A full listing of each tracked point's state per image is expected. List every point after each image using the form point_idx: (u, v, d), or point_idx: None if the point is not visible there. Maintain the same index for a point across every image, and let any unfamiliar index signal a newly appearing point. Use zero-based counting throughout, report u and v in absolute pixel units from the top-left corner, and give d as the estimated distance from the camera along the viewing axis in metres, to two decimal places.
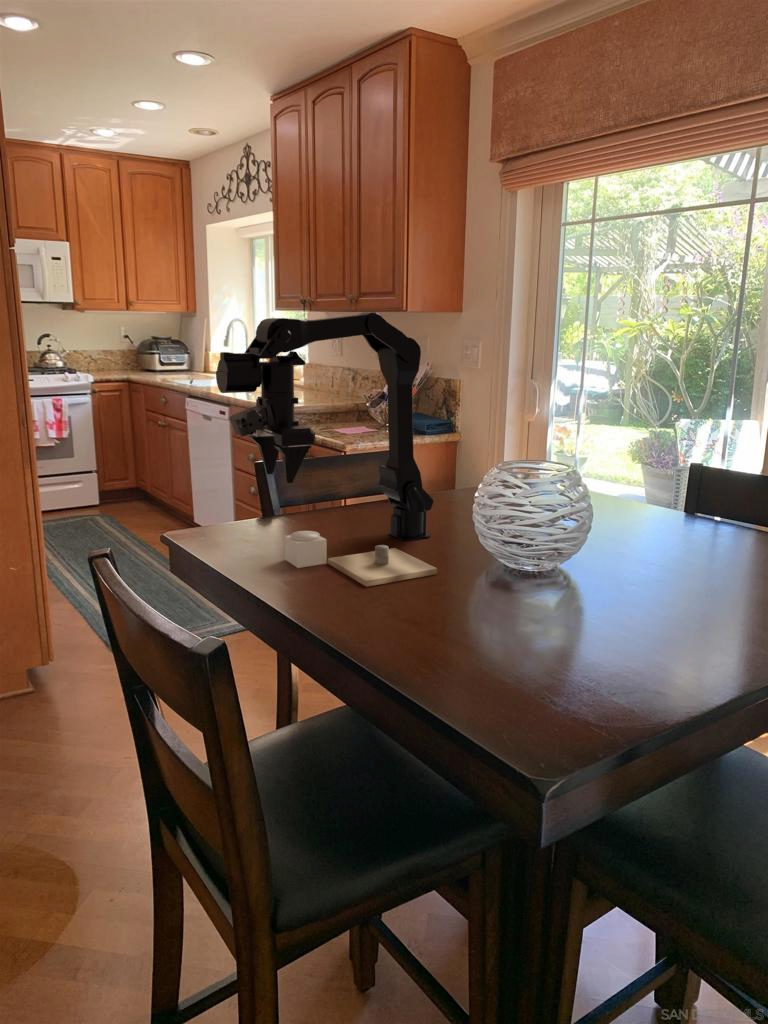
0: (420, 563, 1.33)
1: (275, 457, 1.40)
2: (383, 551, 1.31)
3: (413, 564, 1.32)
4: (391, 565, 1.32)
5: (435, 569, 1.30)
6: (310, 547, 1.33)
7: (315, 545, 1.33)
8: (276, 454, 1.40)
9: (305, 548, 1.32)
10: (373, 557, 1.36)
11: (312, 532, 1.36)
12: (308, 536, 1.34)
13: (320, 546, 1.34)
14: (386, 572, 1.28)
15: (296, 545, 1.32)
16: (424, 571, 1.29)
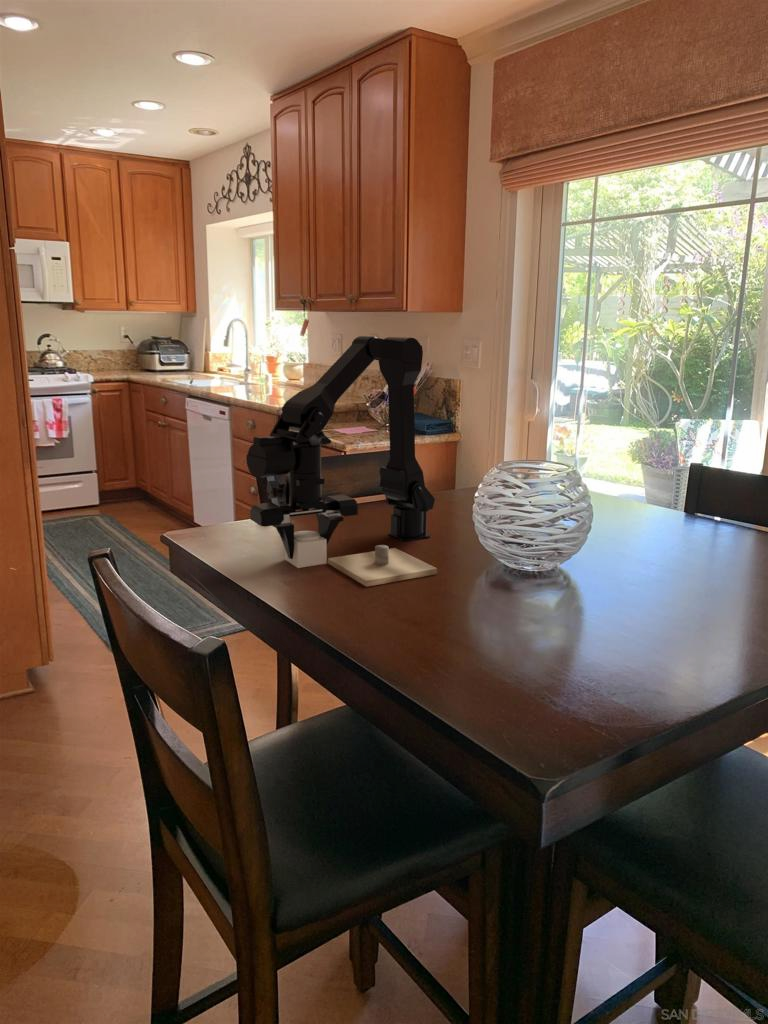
0: (420, 563, 1.33)
1: None
2: (383, 551, 1.31)
3: (413, 564, 1.32)
4: (391, 565, 1.32)
5: (435, 569, 1.30)
6: (310, 547, 1.33)
7: (315, 545, 1.33)
8: (324, 536, 1.35)
9: (305, 548, 1.32)
10: (373, 557, 1.36)
11: (312, 532, 1.36)
12: (308, 536, 1.34)
13: (320, 546, 1.34)
14: (386, 572, 1.28)
15: (296, 545, 1.32)
16: (424, 571, 1.29)
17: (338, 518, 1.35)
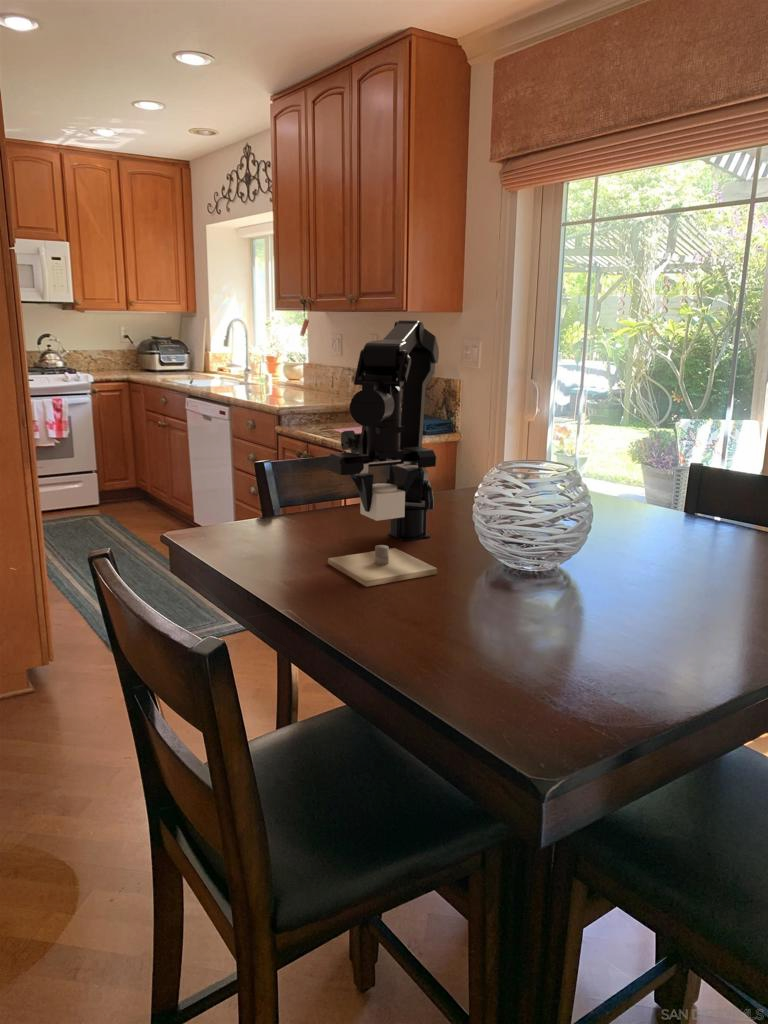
0: (420, 563, 1.33)
1: None
2: (383, 551, 1.31)
3: (413, 564, 1.32)
4: (391, 565, 1.32)
5: (435, 569, 1.30)
6: (389, 499, 1.27)
7: (394, 497, 1.28)
8: (402, 488, 1.30)
9: (384, 500, 1.27)
10: (373, 557, 1.36)
11: (389, 484, 1.30)
12: (386, 488, 1.28)
13: (398, 498, 1.28)
14: (386, 572, 1.28)
15: (375, 496, 1.26)
16: (424, 571, 1.29)
17: (416, 469, 1.29)
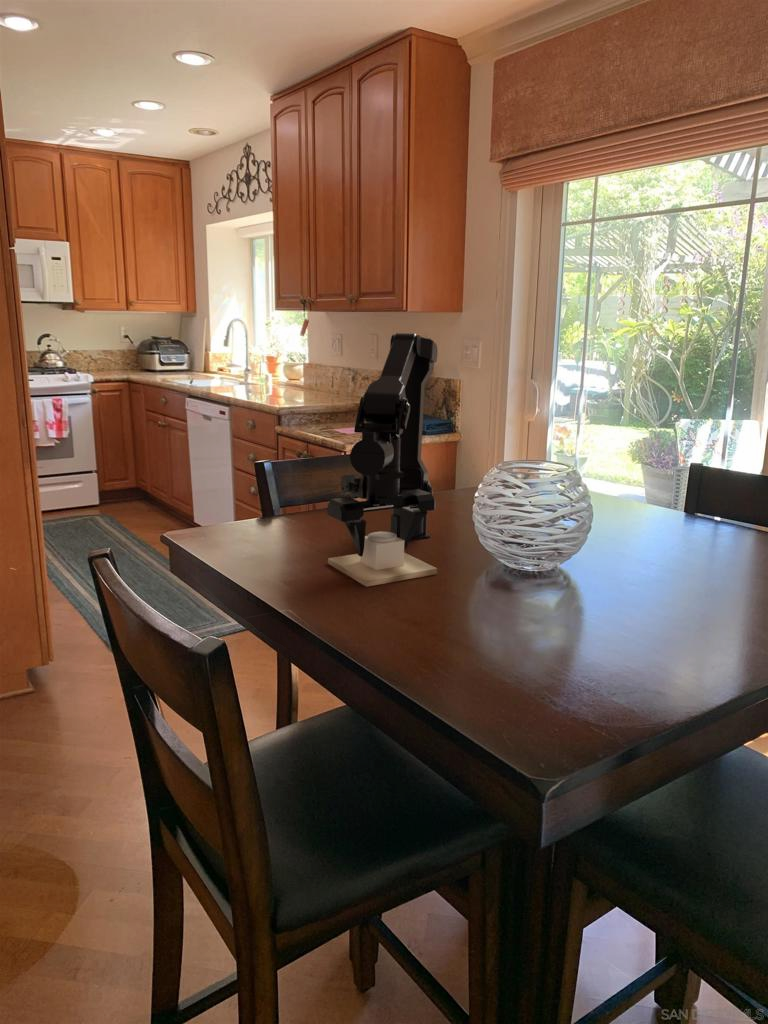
0: (420, 563, 1.33)
1: (407, 534, 1.32)
2: None
3: (413, 564, 1.32)
4: None
5: (435, 569, 1.30)
6: (388, 548, 1.29)
7: (393, 546, 1.30)
8: (408, 531, 1.32)
9: (383, 549, 1.29)
10: None
11: (388, 533, 1.33)
12: (386, 537, 1.30)
13: (398, 547, 1.30)
14: (386, 572, 1.28)
15: (374, 546, 1.28)
16: (424, 571, 1.29)
17: (422, 512, 1.32)
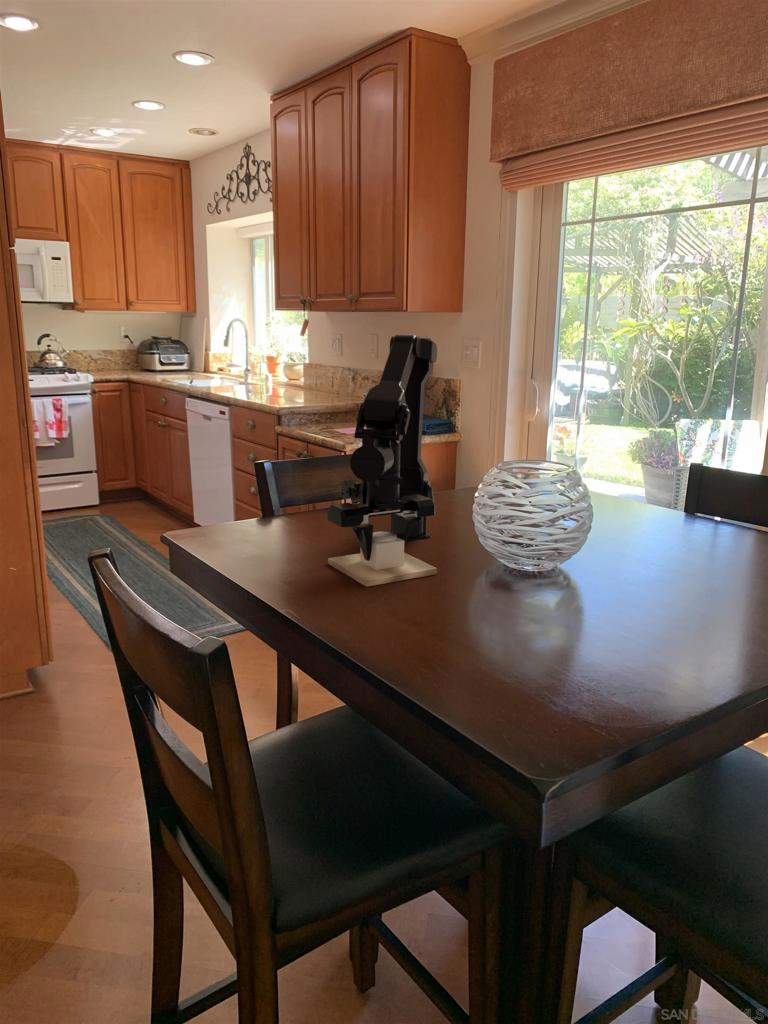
0: (420, 563, 1.33)
1: None
2: None
3: (413, 564, 1.32)
4: None
5: (435, 569, 1.30)
6: (388, 548, 1.29)
7: (393, 546, 1.30)
8: (401, 537, 1.32)
9: (383, 549, 1.29)
10: None
11: (388, 533, 1.33)
12: (386, 537, 1.30)
13: (398, 547, 1.30)
14: (386, 572, 1.28)
15: (374, 546, 1.28)
16: (424, 571, 1.29)
17: (416, 519, 1.31)
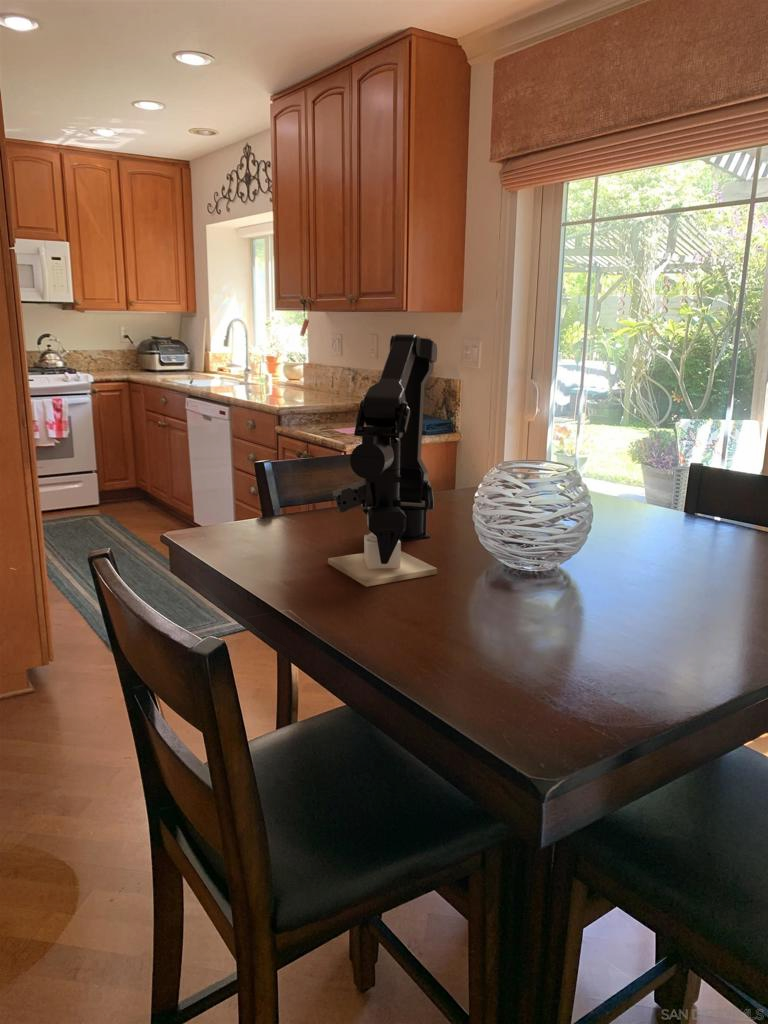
0: (420, 563, 1.33)
1: None
2: None
3: (413, 564, 1.32)
4: None
5: (435, 569, 1.30)
6: None
7: None
8: None
9: None
10: None
11: None
12: None
13: None
14: (386, 572, 1.28)
15: (397, 545, 1.29)
16: (424, 571, 1.29)
17: None
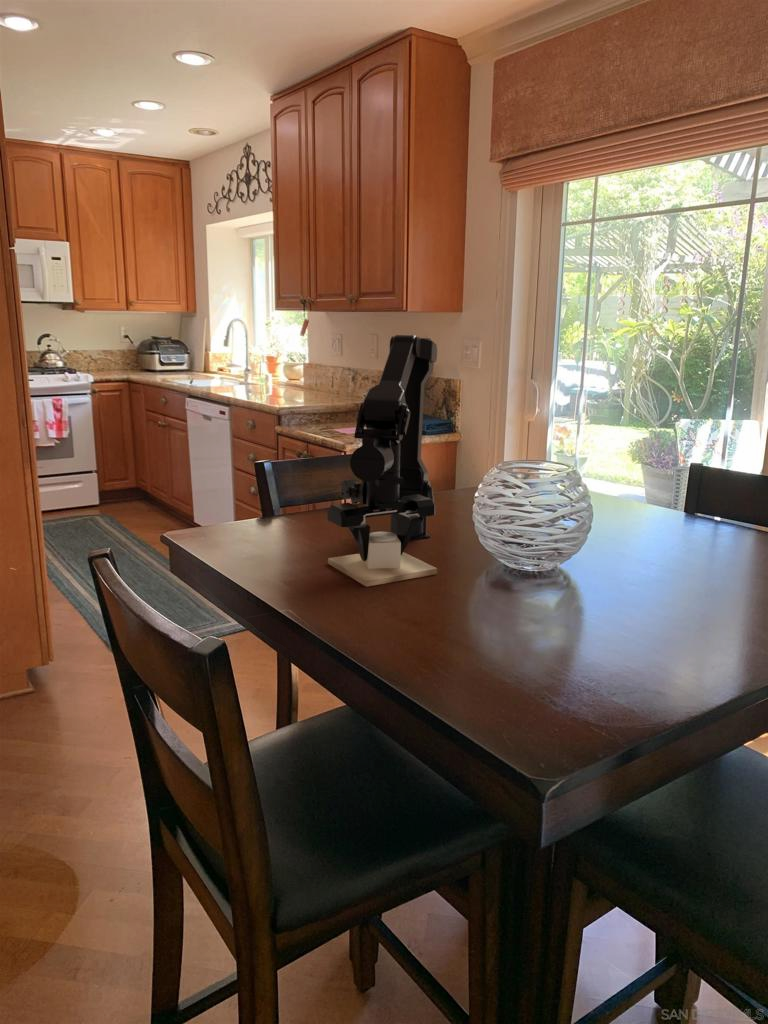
0: (420, 563, 1.33)
1: (403, 540, 1.32)
2: None
3: (413, 564, 1.32)
4: None
5: (435, 569, 1.30)
6: None
7: None
8: (404, 537, 1.32)
9: None
10: None
11: (377, 532, 1.33)
12: (390, 535, 1.31)
13: None
14: (386, 572, 1.28)
15: (397, 545, 1.29)
16: (424, 571, 1.29)
17: (418, 518, 1.32)
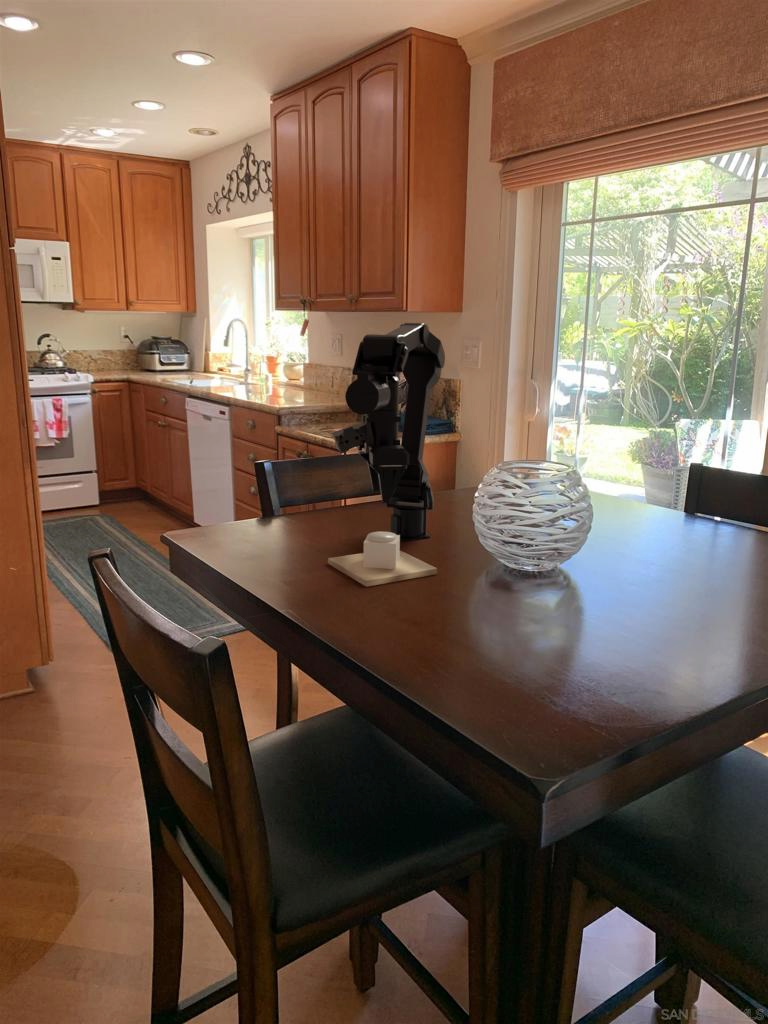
0: (420, 563, 1.33)
1: None
2: None
3: (413, 564, 1.32)
4: None
5: (435, 569, 1.30)
6: None
7: None
8: None
9: None
10: None
11: (372, 535, 1.31)
12: (384, 533, 1.33)
13: None
14: (386, 572, 1.28)
15: (399, 538, 1.33)
16: (424, 571, 1.29)
17: None
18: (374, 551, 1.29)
